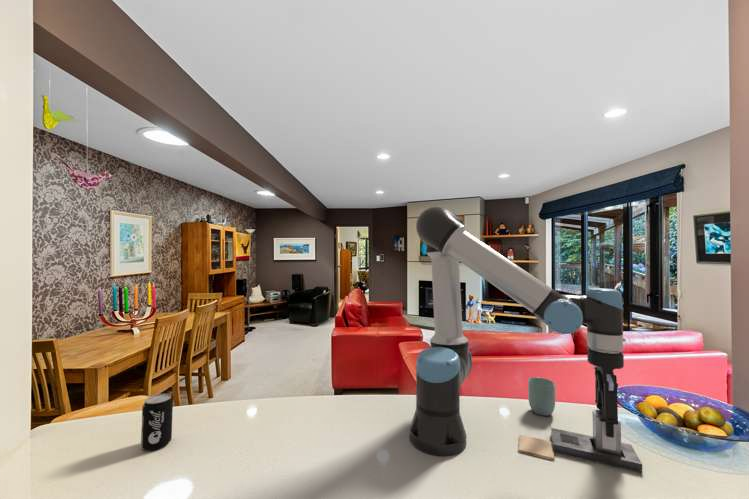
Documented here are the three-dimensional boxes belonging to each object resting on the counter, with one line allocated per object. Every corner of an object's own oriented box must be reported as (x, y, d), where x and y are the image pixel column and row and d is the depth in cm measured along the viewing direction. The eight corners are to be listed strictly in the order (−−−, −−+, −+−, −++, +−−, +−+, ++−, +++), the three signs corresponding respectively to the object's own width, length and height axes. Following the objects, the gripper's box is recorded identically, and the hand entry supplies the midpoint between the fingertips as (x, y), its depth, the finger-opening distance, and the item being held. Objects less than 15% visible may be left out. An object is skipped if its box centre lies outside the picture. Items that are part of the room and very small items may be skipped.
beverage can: (177, 441, 84) (178, 395, 85) (150, 455, 79) (152, 405, 79) (161, 435, 87) (163, 391, 88) (135, 448, 81) (136, 400, 82)
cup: (559, 419, 99) (558, 387, 99) (532, 417, 100) (531, 384, 101) (550, 408, 106) (550, 378, 107) (525, 406, 108) (525, 376, 108)
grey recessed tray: (553, 452, 82) (553, 443, 82) (551, 435, 90) (551, 427, 90) (642, 473, 74) (642, 463, 74) (631, 452, 82) (631, 444, 82)
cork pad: (518, 451, 82) (518, 449, 82) (519, 436, 89) (519, 434, 89) (554, 460, 78) (554, 458, 78) (552, 444, 85) (552, 441, 85)
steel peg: (596, 458, 79) (596, 417, 80) (592, 447, 84) (592, 409, 84) (621, 464, 77) (620, 422, 78) (616, 453, 82) (615, 413, 82)
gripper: (633, 361, 72) (635, 467, 71) (614, 343, 88) (615, 429, 87) (593, 356, 75) (595, 458, 74) (582, 339, 91) (583, 422, 90)
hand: (606, 442), depth 81 cm, fingers open, 5 cm apart
